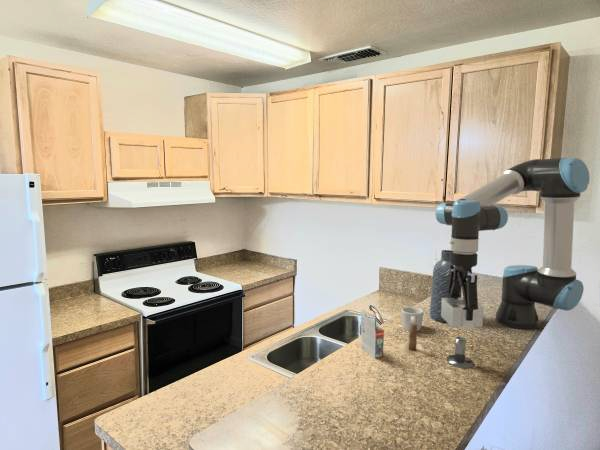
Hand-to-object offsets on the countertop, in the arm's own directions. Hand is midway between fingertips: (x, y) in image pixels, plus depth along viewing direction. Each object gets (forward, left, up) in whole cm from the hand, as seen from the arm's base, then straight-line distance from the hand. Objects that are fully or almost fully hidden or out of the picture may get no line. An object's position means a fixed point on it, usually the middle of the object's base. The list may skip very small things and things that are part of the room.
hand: (460, 323), depth 117 cm
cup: (+7, -26, -14) cm, 30 cm away
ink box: (+26, -7, -14) cm, 30 cm away
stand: (+12, -9, -13) cm, 20 cm away
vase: (-11, -40, -14) cm, 43 cm away
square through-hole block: (0, 0, +1) cm, 1 cm away
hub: (0, 0, -13) cm, 13 cm away
